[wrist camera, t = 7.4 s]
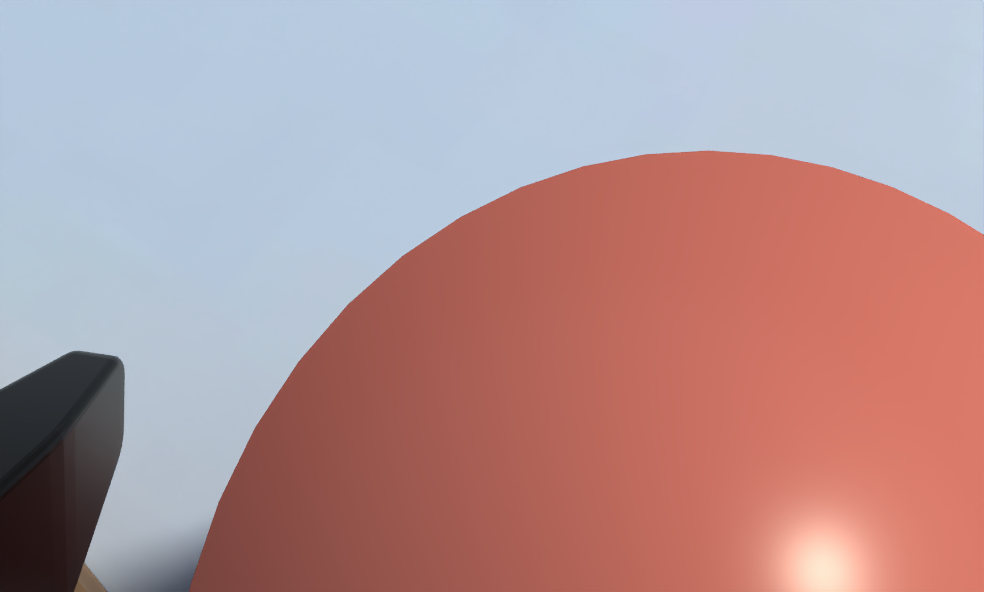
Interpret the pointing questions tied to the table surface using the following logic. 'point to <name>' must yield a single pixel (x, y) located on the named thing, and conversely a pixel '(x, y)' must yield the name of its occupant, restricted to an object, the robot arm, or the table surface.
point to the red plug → (637, 398)
